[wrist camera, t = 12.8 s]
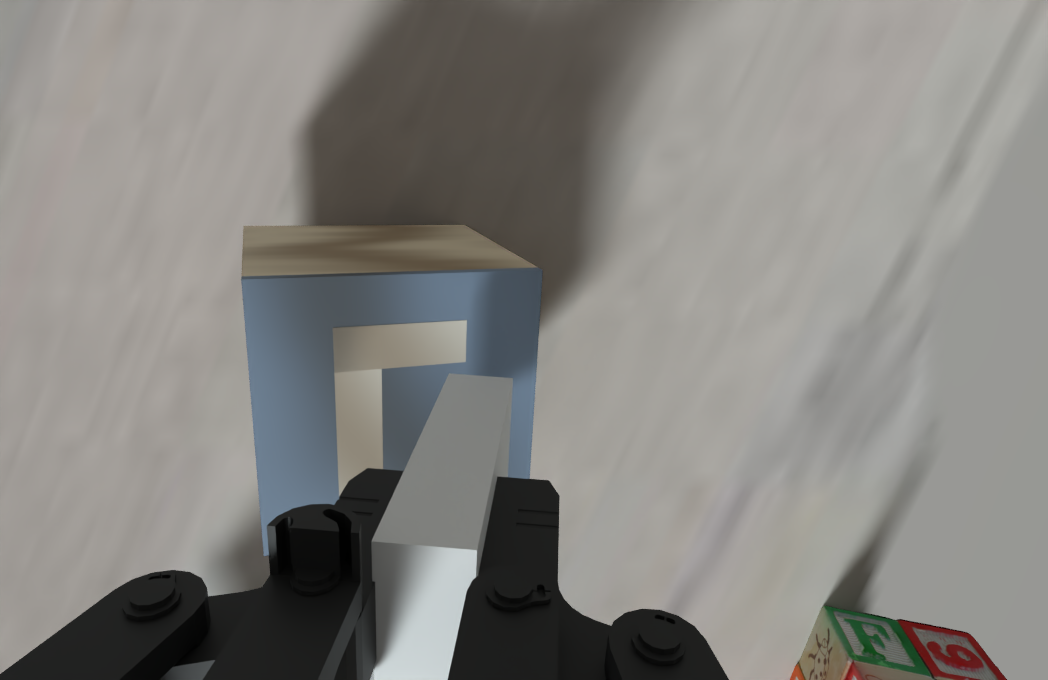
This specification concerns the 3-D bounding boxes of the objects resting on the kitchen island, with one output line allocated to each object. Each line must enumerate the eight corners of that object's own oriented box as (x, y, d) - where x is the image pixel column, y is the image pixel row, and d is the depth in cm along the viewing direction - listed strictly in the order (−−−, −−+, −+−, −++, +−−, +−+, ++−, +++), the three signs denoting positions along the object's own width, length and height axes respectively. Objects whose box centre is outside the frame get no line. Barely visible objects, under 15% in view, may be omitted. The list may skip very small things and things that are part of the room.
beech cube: (241, 279, 14) (243, 226, 21) (263, 556, 17) (259, 433, 23) (543, 269, 17) (464, 224, 23) (527, 511, 19) (459, 411, 25)
